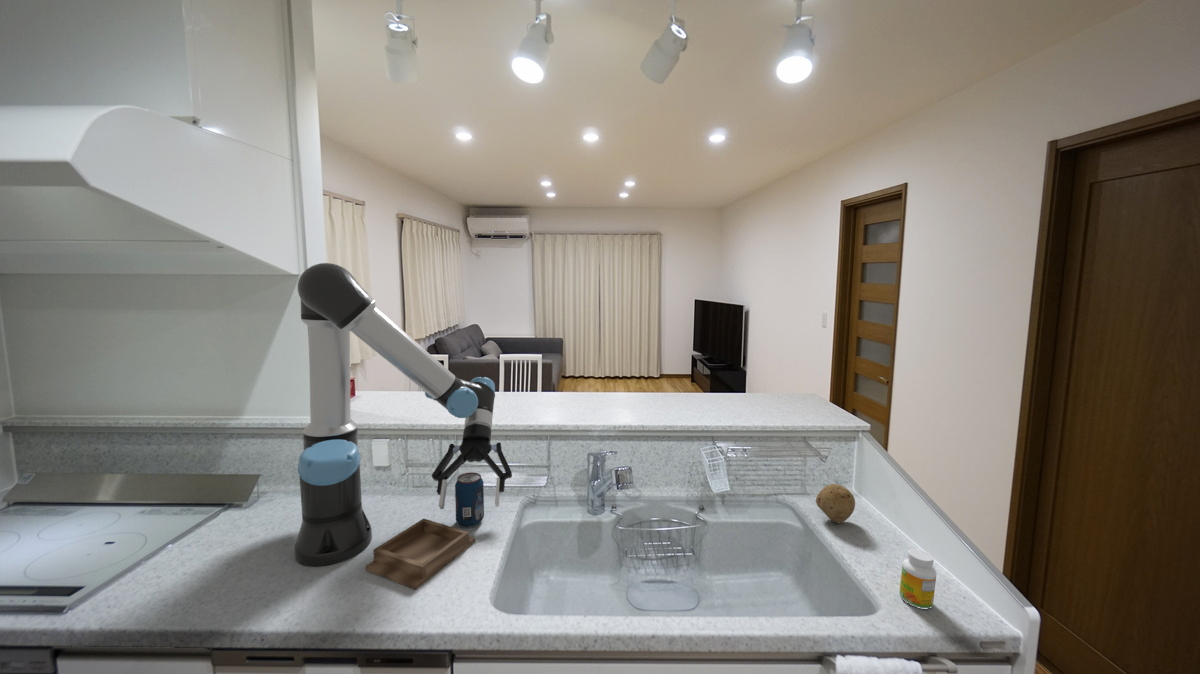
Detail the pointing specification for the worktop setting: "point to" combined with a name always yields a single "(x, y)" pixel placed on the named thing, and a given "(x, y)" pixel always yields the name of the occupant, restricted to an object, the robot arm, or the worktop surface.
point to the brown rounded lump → (836, 502)
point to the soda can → (469, 499)
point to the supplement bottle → (918, 579)
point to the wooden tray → (419, 552)
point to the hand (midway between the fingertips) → (469, 506)
